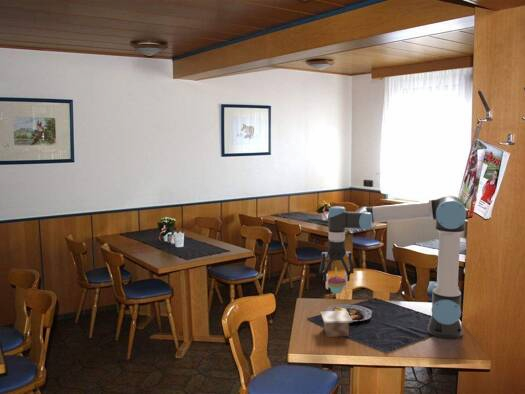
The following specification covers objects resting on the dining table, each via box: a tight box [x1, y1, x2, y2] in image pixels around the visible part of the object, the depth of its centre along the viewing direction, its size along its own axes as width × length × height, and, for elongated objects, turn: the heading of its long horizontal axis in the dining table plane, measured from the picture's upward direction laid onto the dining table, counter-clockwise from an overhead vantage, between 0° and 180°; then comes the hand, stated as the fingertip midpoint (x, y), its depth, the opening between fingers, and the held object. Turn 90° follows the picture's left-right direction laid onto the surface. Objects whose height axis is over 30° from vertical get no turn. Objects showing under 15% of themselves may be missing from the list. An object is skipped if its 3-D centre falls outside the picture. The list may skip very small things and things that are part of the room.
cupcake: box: [328, 266, 346, 294], centre depth 242 cm, size 9×8×12 cm
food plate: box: [325, 303, 373, 323], centre depth 266 cm, size 25×23×4 cm
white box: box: [319, 310, 353, 338], centre depth 245 cm, size 13×13×8 cm
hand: (336, 288), depth 242 cm, fingers closed on cupcake, 8 cm apart
